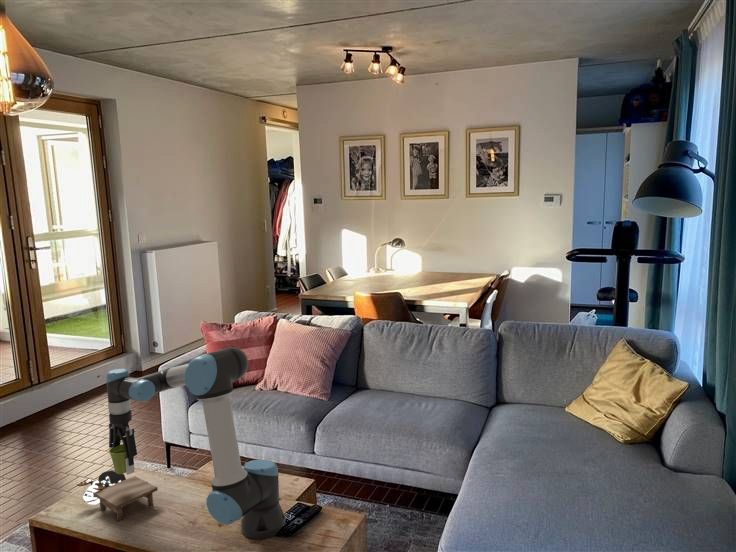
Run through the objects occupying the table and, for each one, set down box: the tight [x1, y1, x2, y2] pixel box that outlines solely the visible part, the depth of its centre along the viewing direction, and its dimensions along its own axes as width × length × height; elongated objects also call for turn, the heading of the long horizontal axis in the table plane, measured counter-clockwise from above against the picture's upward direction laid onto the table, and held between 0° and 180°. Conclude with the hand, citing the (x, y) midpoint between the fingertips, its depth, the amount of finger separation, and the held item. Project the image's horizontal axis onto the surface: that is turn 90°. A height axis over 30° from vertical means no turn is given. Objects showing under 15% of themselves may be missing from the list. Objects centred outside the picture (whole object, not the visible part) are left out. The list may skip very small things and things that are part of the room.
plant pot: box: [108, 443, 127, 474], centre depth 199 cm, size 9×9×9 cm
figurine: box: [76, 470, 127, 506], centre depth 209 cm, size 14×10×18 cm
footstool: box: [94, 475, 158, 522], centre depth 200 cm, size 16×16×7 cm
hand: (124, 469), depth 199 cm, fingers closed on plant pot, 8 cm apart
